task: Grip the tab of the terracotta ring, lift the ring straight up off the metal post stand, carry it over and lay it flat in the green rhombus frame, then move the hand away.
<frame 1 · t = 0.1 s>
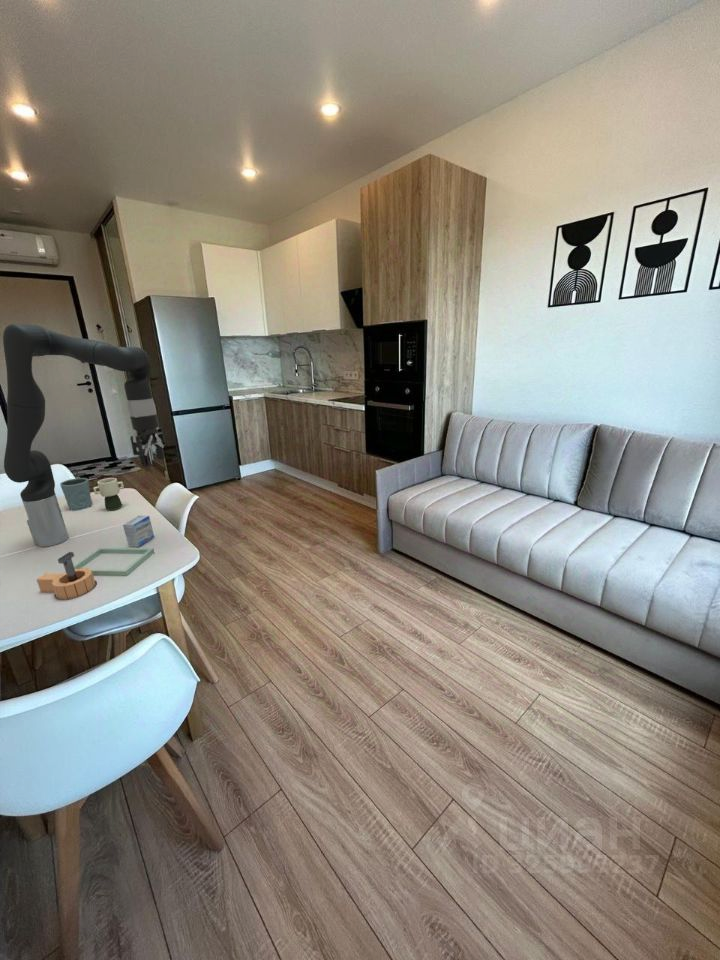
hand: (153, 462, 128), 29 cm above the table, tool pointing down, fingers open, 8 cm apart
ring: (76, 589, 110), point 1 cm above the table, touching metal post stand
medicine box: (141, 542, 138), on the table
teal pot: (81, 507, 173), on the table
character mug: (114, 508, 169), on the table
green rhombus frame: (113, 565, 123), on the table
metal post stand: (77, 592, 110), on the table
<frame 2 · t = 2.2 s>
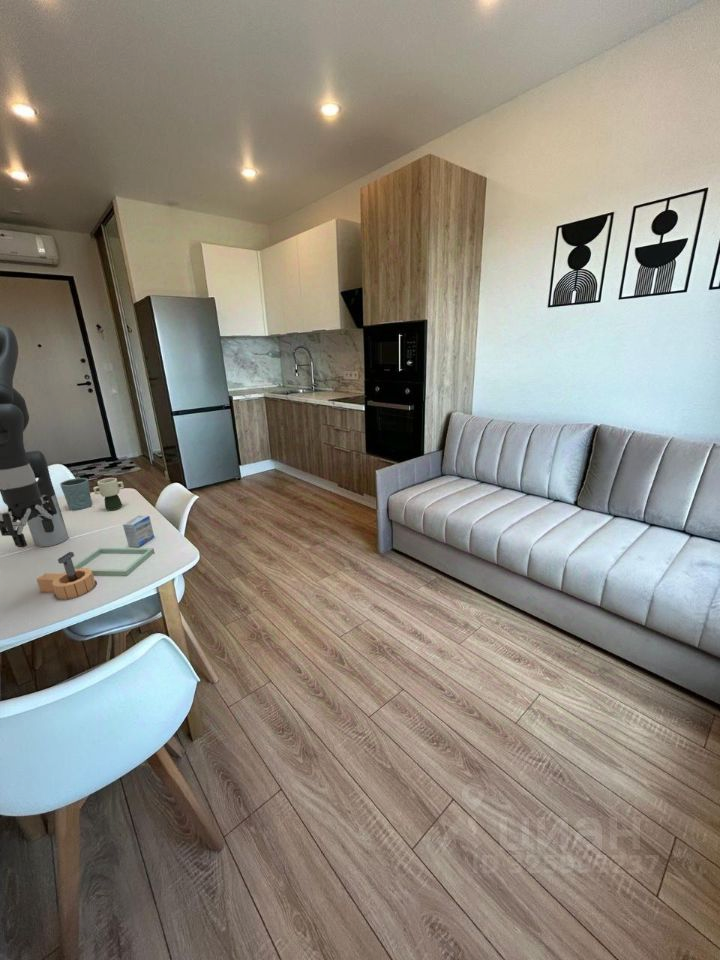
hand: (36, 539, 105), 17 cm above the table, tool pointing down, fingers open, 8 cm apart
nothing on the table moved.
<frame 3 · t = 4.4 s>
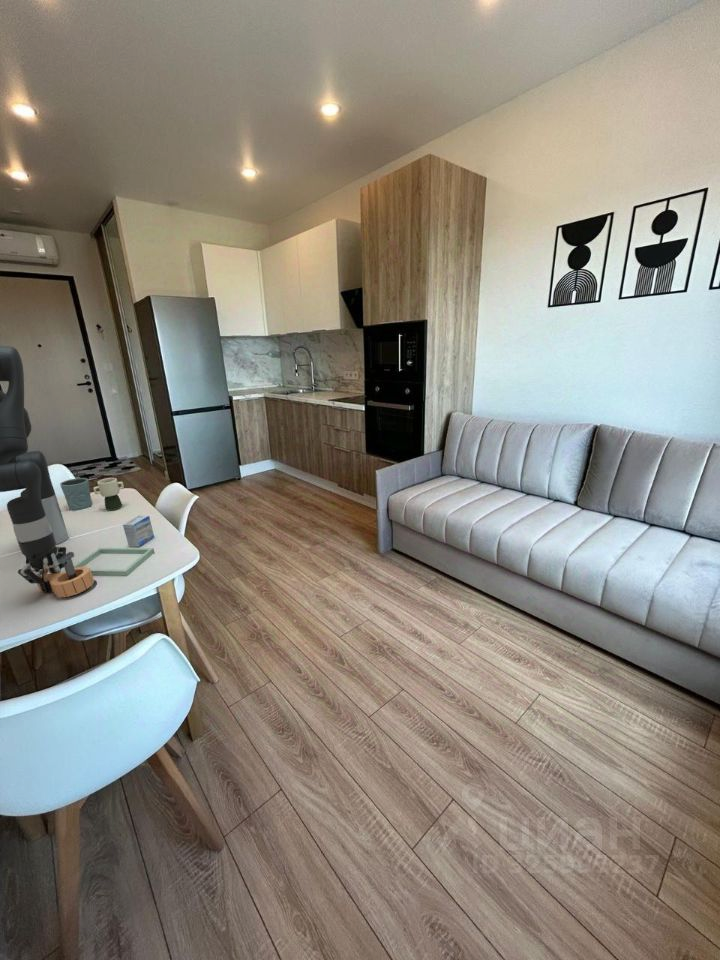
hand: (53, 588, 110), 1 cm above the table, tool pointing down, fingers closed on ring, 2 cm apart
ring: (75, 587, 110), point 1 cm above the table, touching gripper
everything else where it was.
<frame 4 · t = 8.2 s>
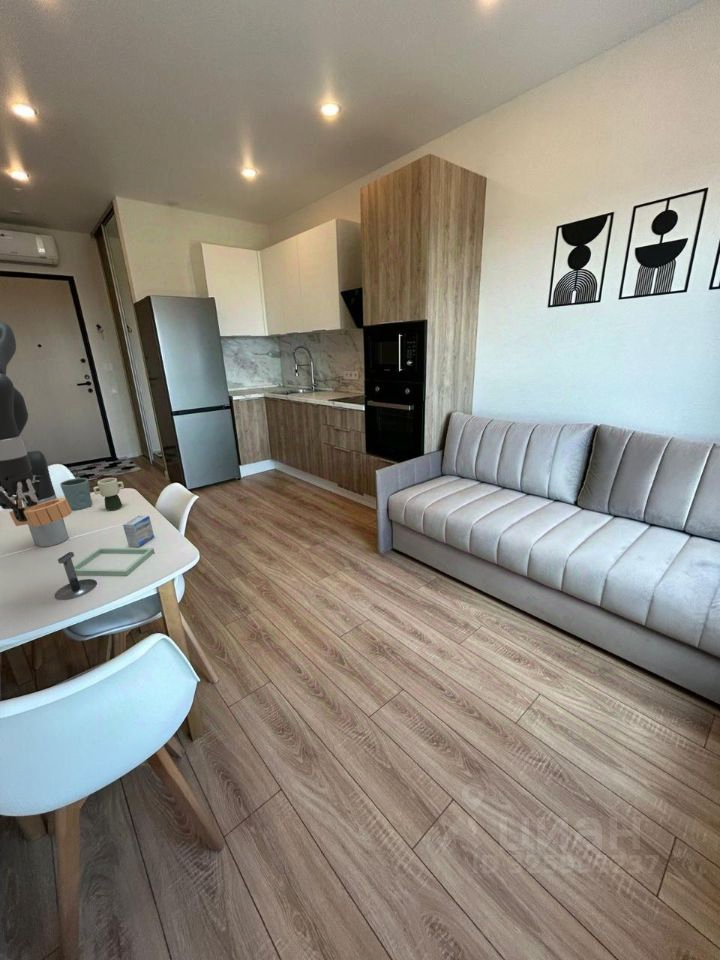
hand: (29, 517, 103), 23 cm above the table, tool pointing down, fingers closed on ring, 3 cm apart
ring: (51, 518, 103), point 23 cm above the table, tilted 9°, touching gripper
everything else where it was.
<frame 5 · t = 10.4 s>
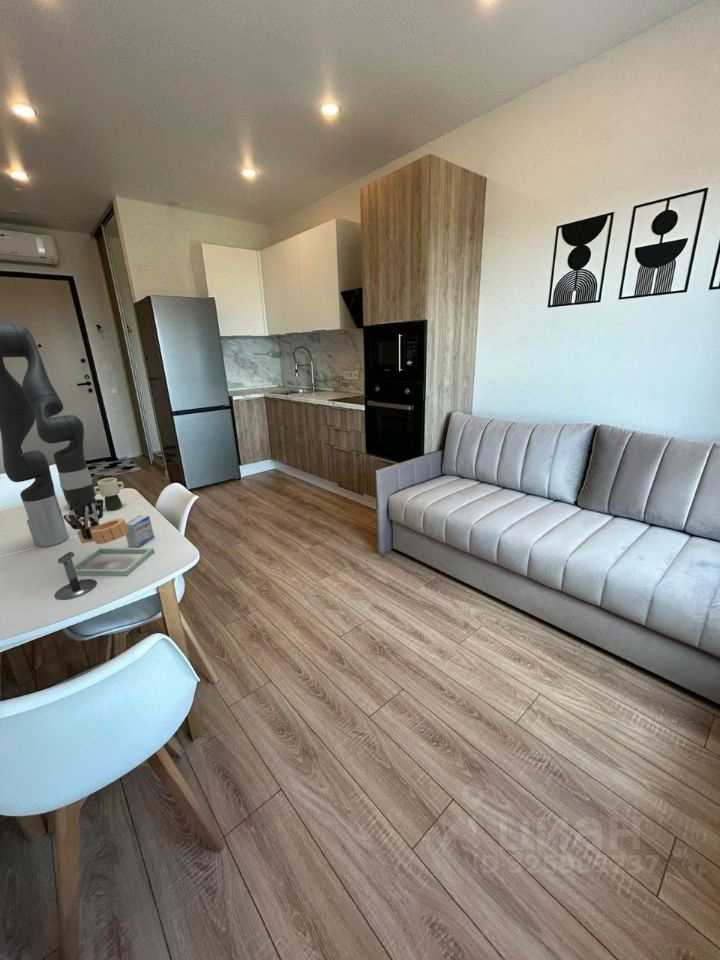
hand: (92, 536, 120), 10 cm above the table, tool pointing down, fingers closed on ring, 3 cm apart
ring: (112, 536, 120), point 10 cm above the table, tilted 10°, touching gripper
everything else where it was.
when the fingers open (2 cm above the table, at t = 12.5 s): ring drops 1 cm, resting on green rhombus frame.
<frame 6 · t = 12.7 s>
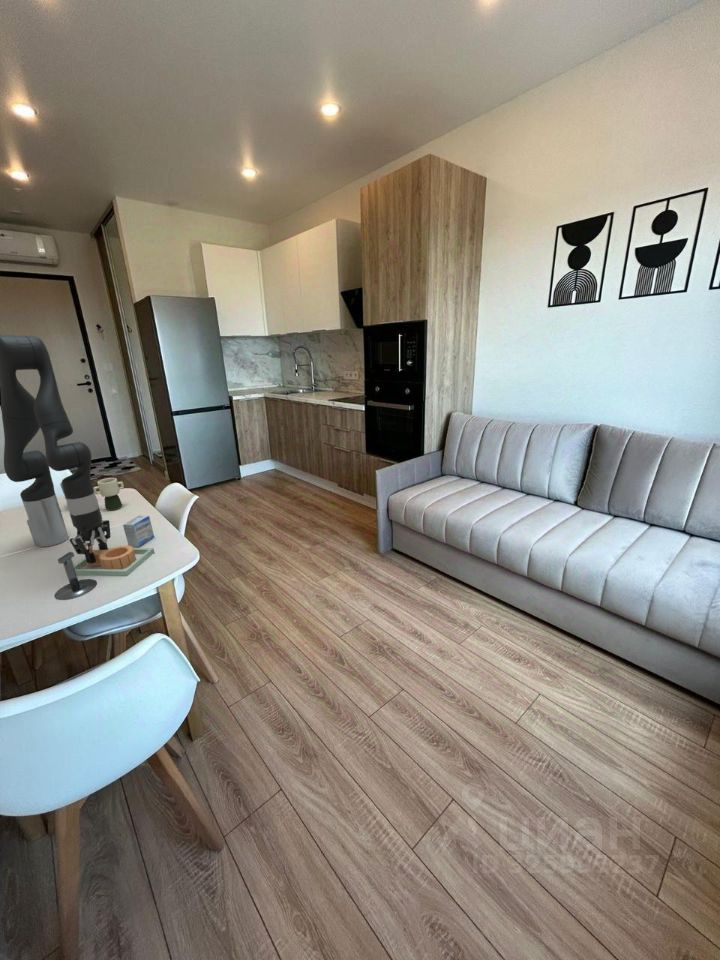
hand: (98, 558, 123), 3 cm above the table, tool pointing down, fingers open, 5 cm apart
ring: (119, 563, 123), point 1 cm above the table, touching green rhombus frame
everything else where it was.
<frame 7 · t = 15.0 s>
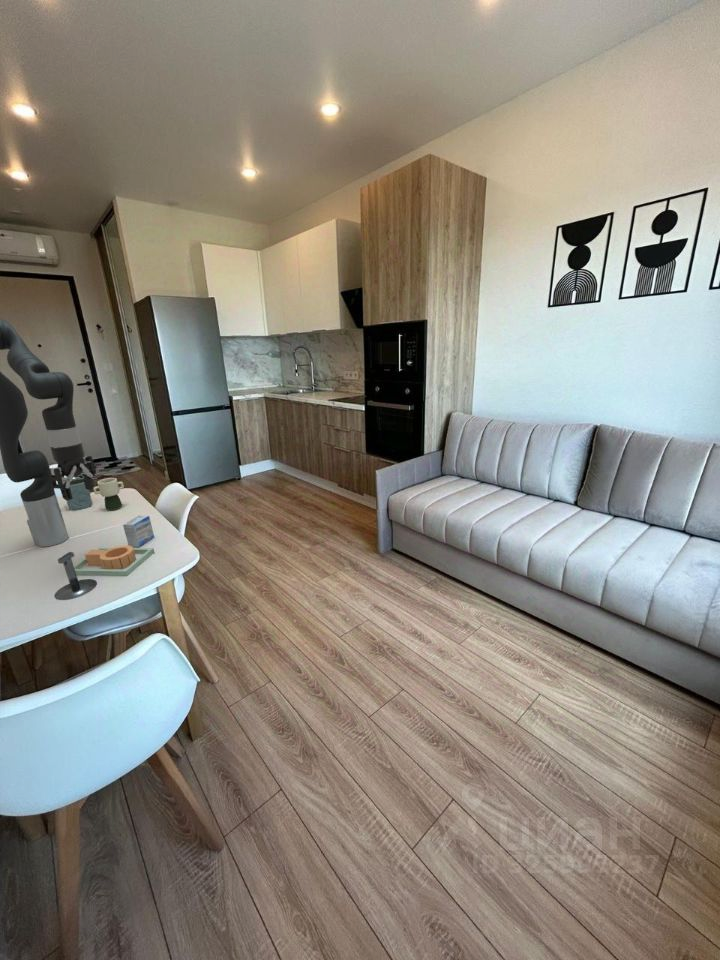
hand: (79, 494, 119), 23 cm above the table, tool pointing down, fingers open, 8 cm apart
nothing on the table moved.
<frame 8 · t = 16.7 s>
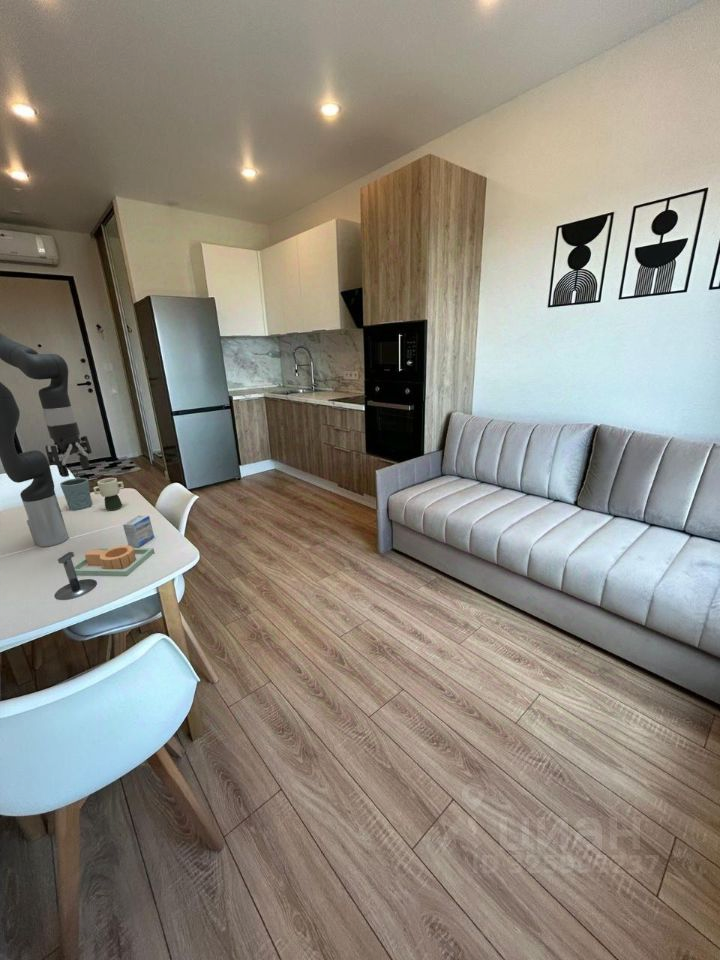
hand: (75, 472, 125), 28 cm above the table, tool pointing down, fingers open, 8 cm apart
nothing on the table moved.
at the end: ring inside the target area on the green rhombus frame (0.4 cm from its centre), point 0.8 cm above the green rhombus frame's base; ring tilted 0°; the gripper is holding nothing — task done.
